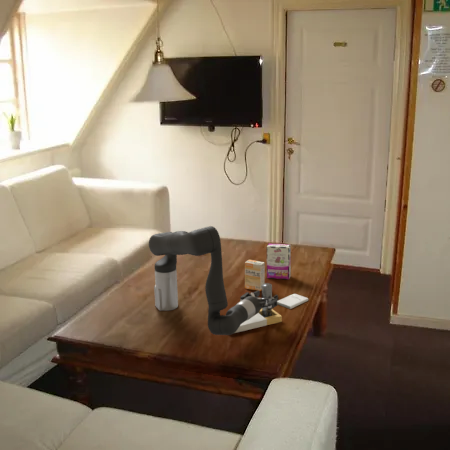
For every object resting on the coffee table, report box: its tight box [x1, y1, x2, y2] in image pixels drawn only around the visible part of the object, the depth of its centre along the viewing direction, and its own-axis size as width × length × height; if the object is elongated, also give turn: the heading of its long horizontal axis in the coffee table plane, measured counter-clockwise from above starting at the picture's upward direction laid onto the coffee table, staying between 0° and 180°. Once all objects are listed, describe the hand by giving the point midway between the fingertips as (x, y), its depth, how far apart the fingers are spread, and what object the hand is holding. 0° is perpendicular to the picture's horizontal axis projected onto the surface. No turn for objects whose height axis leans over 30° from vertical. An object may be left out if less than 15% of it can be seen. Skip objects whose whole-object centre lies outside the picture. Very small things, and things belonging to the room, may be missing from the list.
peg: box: [261, 282, 273, 318], centre depth 236 cm, size 4×4×15 cm
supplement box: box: [244, 259, 266, 292], centre depth 268 cm, size 8×5×13 cm, turn 62°
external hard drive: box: [277, 293, 309, 310], centre depth 254 cm, size 2×8×12 cm
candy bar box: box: [266, 243, 292, 280], centre depth 280 cm, size 11×5×16 cm, turn 76°
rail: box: [234, 308, 283, 334], centre depth 235 cm, size 24×10×2 cm, turn 116°
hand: (267, 294), depth 236 cm, fingers open, 8 cm apart
